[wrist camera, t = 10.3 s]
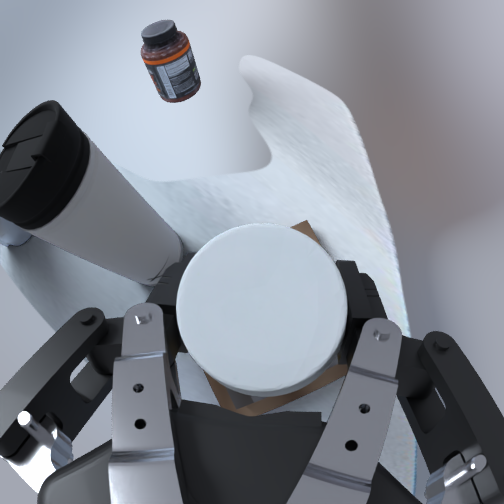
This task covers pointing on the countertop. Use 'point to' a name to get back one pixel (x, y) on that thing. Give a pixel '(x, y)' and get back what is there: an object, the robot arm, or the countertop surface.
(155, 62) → the supplement bottle
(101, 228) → the travel mug
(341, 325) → the supplement bottle
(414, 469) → the countertop surface
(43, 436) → the robot arm
